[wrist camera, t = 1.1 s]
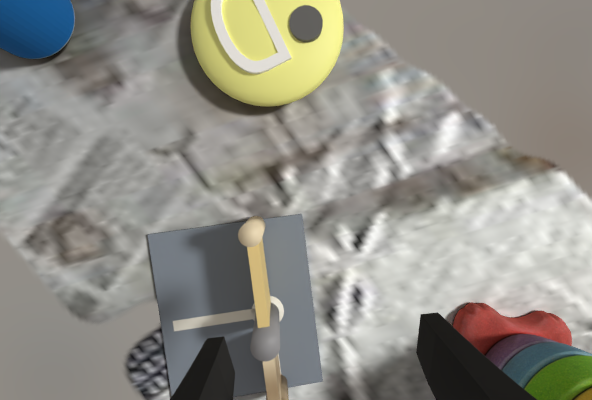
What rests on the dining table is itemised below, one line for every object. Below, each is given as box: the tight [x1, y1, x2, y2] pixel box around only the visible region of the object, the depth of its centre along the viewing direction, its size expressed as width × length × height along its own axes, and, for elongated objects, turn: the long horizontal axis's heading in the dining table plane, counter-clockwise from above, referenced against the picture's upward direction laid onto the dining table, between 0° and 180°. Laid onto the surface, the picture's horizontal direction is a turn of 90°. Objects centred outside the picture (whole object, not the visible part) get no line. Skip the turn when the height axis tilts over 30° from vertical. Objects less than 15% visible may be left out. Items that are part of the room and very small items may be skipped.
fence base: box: [262, 355, 288, 400], centre depth 21 cm, size 6×2×5 cm, turn 7°
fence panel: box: [238, 216, 280, 361], centre depth 21 cm, size 9×2×5 cm, turn 7°
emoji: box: [191, 0, 344, 107], centre depth 22 cm, size 4×12×12 cm
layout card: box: [148, 214, 323, 397], centre depth 24 cm, size 15×13×1 cm
